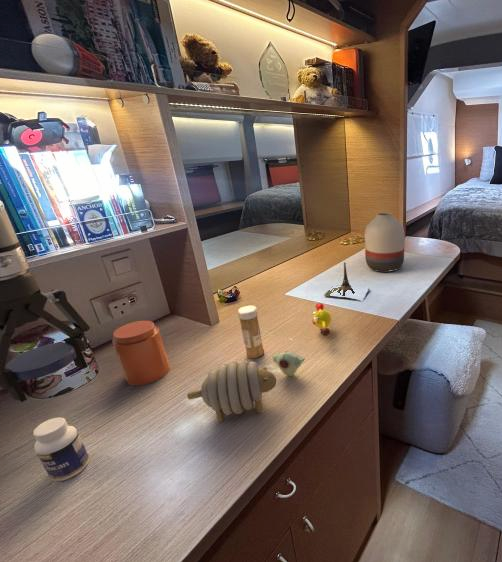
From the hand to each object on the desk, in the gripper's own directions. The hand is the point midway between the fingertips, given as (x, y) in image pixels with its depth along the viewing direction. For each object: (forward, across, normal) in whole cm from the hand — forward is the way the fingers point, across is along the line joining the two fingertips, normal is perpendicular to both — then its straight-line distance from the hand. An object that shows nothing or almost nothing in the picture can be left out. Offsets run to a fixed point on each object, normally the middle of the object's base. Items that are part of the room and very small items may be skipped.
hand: (53, 381), depth 66 cm
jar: (+10, +16, -1) cm, 19 cm away
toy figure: (+10, +48, -32) cm, 59 cm away
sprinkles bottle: (+10, +32, -21) cm, 39 cm away
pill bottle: (+10, -7, -13) cm, 18 cm away
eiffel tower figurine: (+10, +75, -27) cm, 80 cm away
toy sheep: (+10, +15, -31) cm, 36 cm away
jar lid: (-6, 0, 0) cm, 6 cm away
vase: (+10, +105, -31) cm, 110 cm away
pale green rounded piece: (+10, +27, -35) cm, 45 cm away
